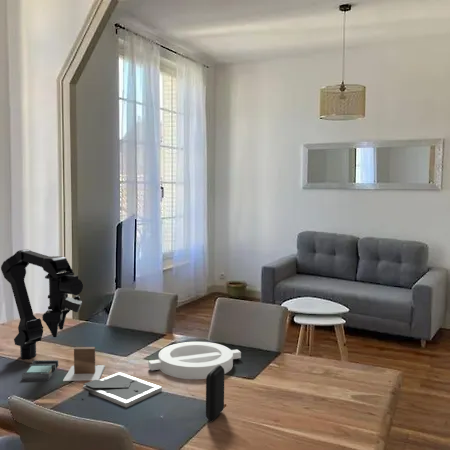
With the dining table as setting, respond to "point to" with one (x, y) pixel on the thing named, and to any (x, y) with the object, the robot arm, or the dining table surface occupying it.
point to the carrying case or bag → (214, 393)
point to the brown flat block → (84, 360)
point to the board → (84, 377)
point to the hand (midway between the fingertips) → (58, 333)
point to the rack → (40, 375)
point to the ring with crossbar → (194, 359)
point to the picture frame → (122, 389)
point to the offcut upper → (39, 369)
